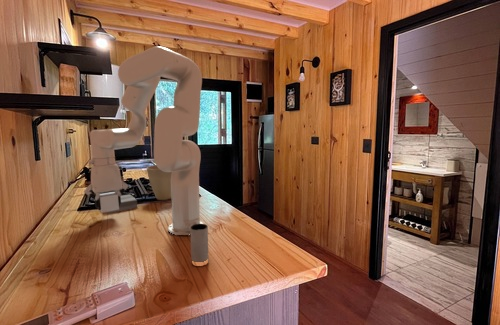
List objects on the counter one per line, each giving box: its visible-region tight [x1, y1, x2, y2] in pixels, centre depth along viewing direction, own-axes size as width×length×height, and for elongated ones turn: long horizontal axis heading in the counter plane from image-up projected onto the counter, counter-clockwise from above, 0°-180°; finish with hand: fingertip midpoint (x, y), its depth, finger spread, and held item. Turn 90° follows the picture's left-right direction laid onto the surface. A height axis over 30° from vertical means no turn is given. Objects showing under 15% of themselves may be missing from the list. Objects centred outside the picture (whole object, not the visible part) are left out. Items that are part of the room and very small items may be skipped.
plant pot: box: [146, 164, 172, 201], centre depth 135 cm, size 15×15×16 cm
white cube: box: [99, 191, 119, 214], centre depth 106 cm, size 6×6×6 cm
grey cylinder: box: [190, 223, 209, 262], centre depth 73 cm, size 4×4×10 cm
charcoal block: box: [106, 194, 138, 214], centre depth 121 cm, size 12×12×4 cm
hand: (108, 207), depth 106 cm, fingers closed on white cube, 6 cm apart
